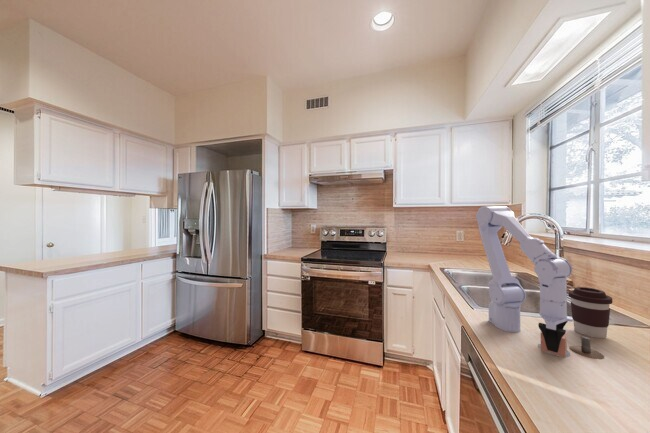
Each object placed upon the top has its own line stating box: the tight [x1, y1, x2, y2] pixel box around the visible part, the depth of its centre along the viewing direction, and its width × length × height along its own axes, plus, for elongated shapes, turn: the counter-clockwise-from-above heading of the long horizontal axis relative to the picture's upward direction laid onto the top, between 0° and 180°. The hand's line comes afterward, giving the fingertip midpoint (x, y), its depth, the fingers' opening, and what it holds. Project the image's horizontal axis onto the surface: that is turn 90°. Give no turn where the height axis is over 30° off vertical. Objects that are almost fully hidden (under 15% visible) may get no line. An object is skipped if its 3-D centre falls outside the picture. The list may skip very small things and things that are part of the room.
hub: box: [568, 335, 605, 360], centre depth 70 cm, size 7×7×5 cm
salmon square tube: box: [540, 331, 568, 358], centre depth 71 cm, size 5×5×5 cm
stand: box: [537, 343, 571, 358], centre depth 71 cm, size 7×7×5 cm
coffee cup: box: [567, 286, 613, 339], centre depth 81 cm, size 10×10×15 cm
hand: (553, 345), depth 71 cm, fingers open, 7 cm apart
